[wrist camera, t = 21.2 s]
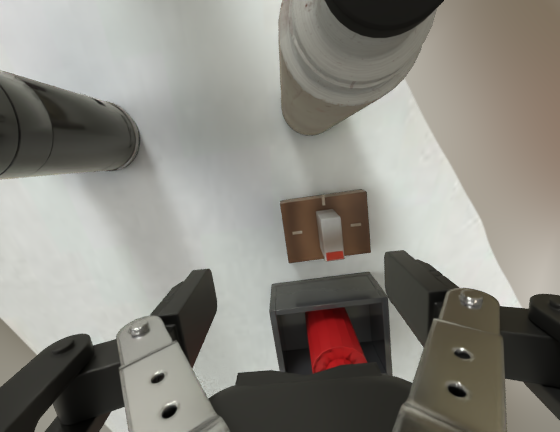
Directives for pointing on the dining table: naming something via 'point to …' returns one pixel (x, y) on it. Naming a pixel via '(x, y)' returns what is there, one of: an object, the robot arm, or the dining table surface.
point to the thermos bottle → (345, 55)
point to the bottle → (332, 339)
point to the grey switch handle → (330, 234)
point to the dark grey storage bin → (327, 295)
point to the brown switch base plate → (305, 229)
